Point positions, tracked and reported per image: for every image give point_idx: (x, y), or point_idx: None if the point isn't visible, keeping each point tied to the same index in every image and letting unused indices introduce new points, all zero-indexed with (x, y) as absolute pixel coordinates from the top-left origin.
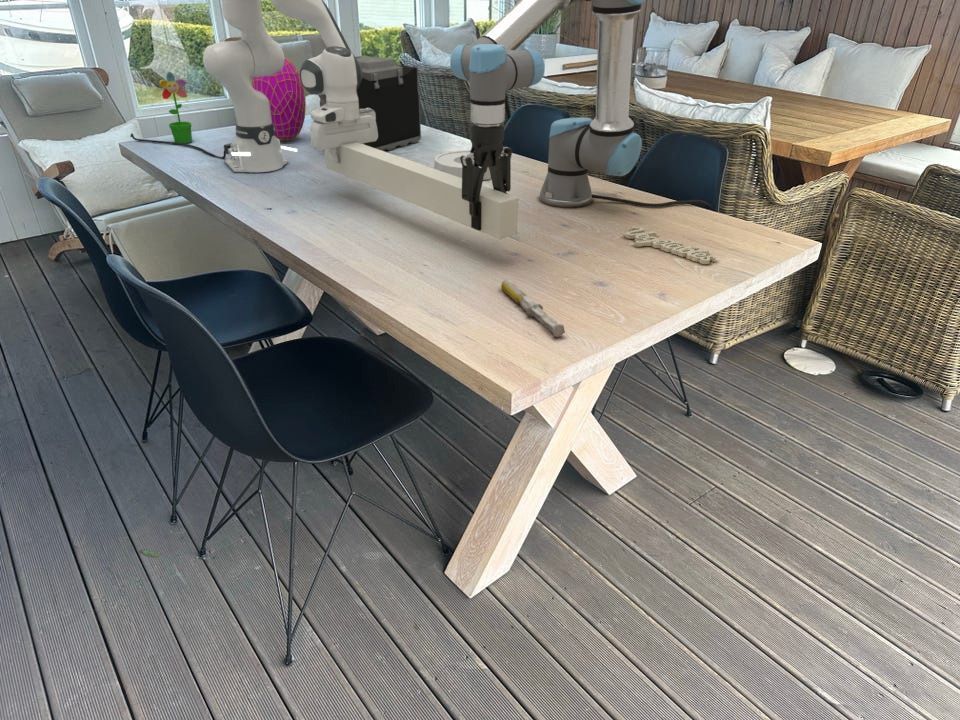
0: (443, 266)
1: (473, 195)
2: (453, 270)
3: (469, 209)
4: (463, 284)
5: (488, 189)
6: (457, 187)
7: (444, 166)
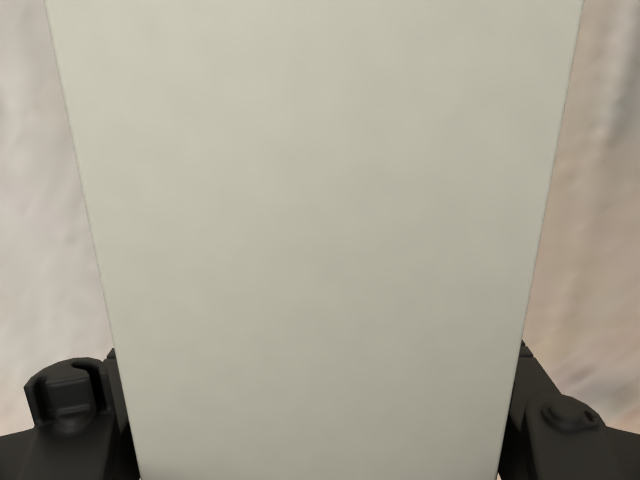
0: (70, 172)
1: (110, 465)
2: (90, 239)
3: (108, 358)
4: None
5: (430, 458)
6: (46, 11)
7: None
